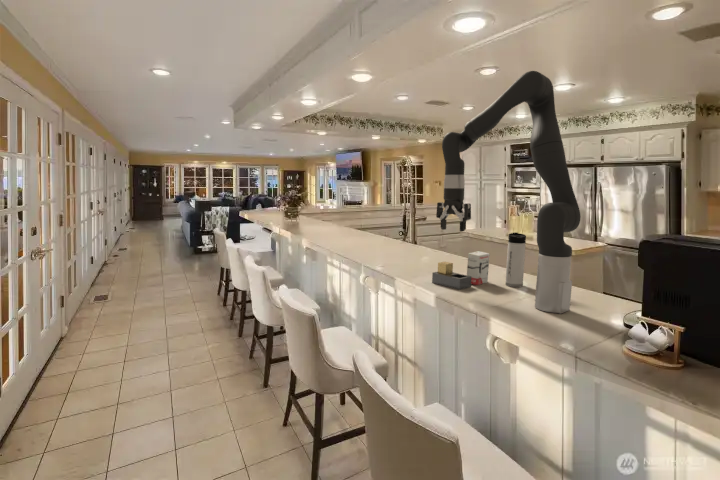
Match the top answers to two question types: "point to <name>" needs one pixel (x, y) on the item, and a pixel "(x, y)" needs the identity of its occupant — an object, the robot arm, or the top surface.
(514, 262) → the travel mug
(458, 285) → the grey hollow block
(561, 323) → the top surface
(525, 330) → the top surface
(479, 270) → the ink box
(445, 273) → the tan wooden block
